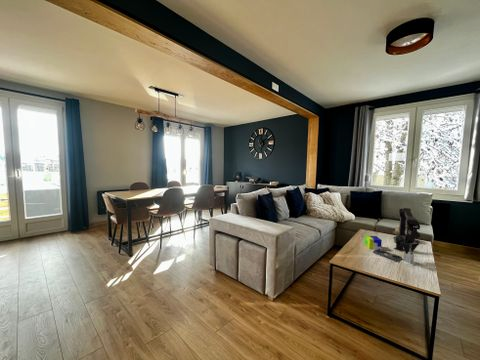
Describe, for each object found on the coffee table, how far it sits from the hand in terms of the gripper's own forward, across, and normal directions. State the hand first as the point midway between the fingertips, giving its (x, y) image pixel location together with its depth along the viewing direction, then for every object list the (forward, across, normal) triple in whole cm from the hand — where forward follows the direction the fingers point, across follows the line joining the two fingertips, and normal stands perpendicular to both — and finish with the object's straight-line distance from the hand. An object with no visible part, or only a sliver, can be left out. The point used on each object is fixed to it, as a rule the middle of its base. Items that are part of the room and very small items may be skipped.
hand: (409, 252), depth 161 cm
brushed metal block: (+8, 0, 0) cm, 8 cm away
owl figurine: (+9, -53, -26) cm, 60 cm away
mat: (+8, 0, 0) cm, 9 cm away
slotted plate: (+8, +3, -14) cm, 17 cm away
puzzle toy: (+9, -4, -30) cm, 32 cm away
